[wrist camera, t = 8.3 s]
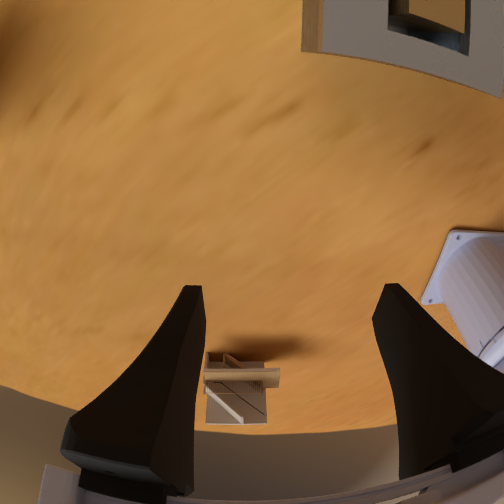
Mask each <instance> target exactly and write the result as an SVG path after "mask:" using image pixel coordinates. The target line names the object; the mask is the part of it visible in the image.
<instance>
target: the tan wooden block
mask: <svg viewBox="0 0 504 504" xmlns="http://www.w3.org/2000/svg"><path fill="white" fill-rule="evenodd" d="M388 25H391V26H395V27H399V28H402V29H406V30H409V31H412V32H445V33H461V34H464V29H465V0H388Z"/></svg>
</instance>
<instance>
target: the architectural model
mask: <svg viewBox="0 0 504 504" xmlns="http://www.w3.org/2000/svg"><path fill="white" fill-rule="evenodd" d="M203 372H204V378H203V385H204V394H205V393H207V408H206V424H223V425H250V424H267V411H266V391H265V390H266V389H265V388H278V387H279V379H280V368H264V361H258V362H239V361H237V360H236V359H234V358H233V357H232V356H230V355H229V354H228V353H224V354H223V362H210V360H209V355H208V352H206V356H205V367H204V371H203Z"/></svg>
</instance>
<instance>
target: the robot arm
mask: <svg viewBox="0 0 504 504" xmlns="http://www.w3.org/2000/svg"><path fill="white" fill-rule="evenodd" d="M458 235H459V236H458ZM457 236H458V237H457ZM421 303H422V304H423V305H427V304H438V303H444V304H445V306H446V307H447V309H448V311H449V313H450V315H451V316H452V318H453V320H454V322H455V324H456V326H457V328H458V330H459V332H460V334H461V336H462V338H463V340H464V342H465V344H466V346H467V348H468V350H467V349H466V348H465V347H464V346H463V345H461V344H460V343H459V342H458V341H456V340H455V339H454V338H453V337H452V336H451V335H450V334H449V333H448V332H447V331H446V330H444V329H443V328H442V327H441V326H440V325H439V324H438V323H437V322H436V321H435V320H434V319H433V318H432V317H431V316H430V315H429V314H428V313H427V312H426V311H425V310H424V309H423V308H422V307H421V306H420V305H419V303H418V302H417V301H416V300H415V299H414V298H413V297H412V296H411V295H410V294H409V293H408V292H407V291H406V290H405V289H404V288H403V287H402V286H401V285H400V284H398V283H391V284H385V286H384V288H383V291H382V294H381V296H380V299H379V302H378V304H377V307H376V309H375V312H374V314H373V317H372V321H373V327H374V332H375V336H376V341H377V344H378V347H379V350H380V353H381V356H382V359H383V362H384V365H385V368H386V371H387V375H388V378H389V381H390V384H391V388H392V392H393V397H394V403H395V409H396V417H397V425H398V436H399V481H396V482H392V483H388V484H384V485H379V486H376V487H371V488H366V489H361V490H356V491H351V492H345V493H339V494H333V495H326V496H318V497H310V498H300V499H289V500H288V499H287V500H270V501H220V500H202V499H191V498H181V497H185V496H188V495H189V494H191V493H192V492H193V491H194V461H193V460H194V420H195V402H196V394H197V388H198V382H199V376H200V370H201V364H202V359H203V353H204V347H205V334H206V317H205V309H204V301H203V293H202V286H197V285H185V286H184V287H183V289H182V291H181V293H180V294H179V296H178V298H177V300H176V302H175V303H174V305H173V307H172V309H171V310H170V312H169V314H168V315H167V317H166V318H165V320H164V321H163V323H162V324H161V326H160V327H159V329H158V330H157V332H156V333H155V335H154V336H153V337H152V339H151V340H150V341H149V343H148V344H147V346H146V347H145V348H144V349H143V351H142V352H141V353H140V354H139V356H138V357H137V358H136V359H135V360H134V361H133V363H132V364H131V365H130V366H129V367H128V368H127V369H126V370H125V371H124V372H123V373H122V374H121V376H120V377H119V378H118V379H117V380H116V381H115V382H113V383H112V384H111V385H110V386H109V387H108V388H107V389H106V390H105V391H103V392H102V393H101V394H100V395H99V396H98V397H97V398H96V399H94V400H93V401H92V402H91V403H89V404H88V405H87V406H85V407H84V408H83V409H81V410H80V411H78V412H77V413H76V414H74V415H73V416H72V417H70V419H69V421H68V424H67V426H66V429H65V432H64V436H63V440H62V444H61V448H60V452H61V454H62V455H63V456H64V457H65V458H66V459H68V460H69V461H71V462H73V463H74V464H76V465H77V466H79V467H80V468H82V470H81V474H80V475H79V474H77V473H75V472H71V471H69V470H66V469H63V468H60V467H57V466H54V465H51V464H48V463H47V464H46V466H45V470H44V474H43V479H42V484H41V489H40V494H39V500H38V504H375V503H379V502H383V501H387V500H391V499H394V498H398V497H401V496H405V495H408V494H411V493H414V492H418V491H420V492H419V494H418V496H415V497H412V498H409V499H406V500H403V501H401V502H399V503H396V504H493V503H495V502H496V501H498V500H499V499H501V498H502V497H504V232H489V231H472V230H452V231H450V232H449V234H448V237H447V239H446V242H445V244H444V247H443V249H442V252H441V254H440V257H439V259H438V262H437V264H436V267H435V269H434V271H433V274H432V276H431V278H430V280H429V283H428V285H427V287H426V289H425V291H424V294H423V296H422V298H421ZM177 496H181V497H177Z"/></svg>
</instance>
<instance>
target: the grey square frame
mask: <svg viewBox="0 0 504 504" xmlns="http://www.w3.org/2000/svg"><path fill="white" fill-rule="evenodd" d="M301 52H310V53H320V54H328V55H336V56H343V57H350V58H356V59H362V60H367V61H373V62H378V63H383V64H387V65H392V66H396V67H400V68H405V69H409V70H413V71H416V72H420V73H424V74H427V75H431V76H434V77H438V78H441V79H444V80H447V81H450V82H453V83H457V84H460V85H463V86H466V87H469V88H472V89H475V90H478V91H481V92H484V93H487V94H489V95H492V96H495V97H497V98H500V99H501V98H502V92H503V84H504V0H465V29H464V34H461V33H445V32H412V31H409V30H406V29H402V28H399V27H395V26H391V25H388V0H303V14H302V43H301Z"/></svg>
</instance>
